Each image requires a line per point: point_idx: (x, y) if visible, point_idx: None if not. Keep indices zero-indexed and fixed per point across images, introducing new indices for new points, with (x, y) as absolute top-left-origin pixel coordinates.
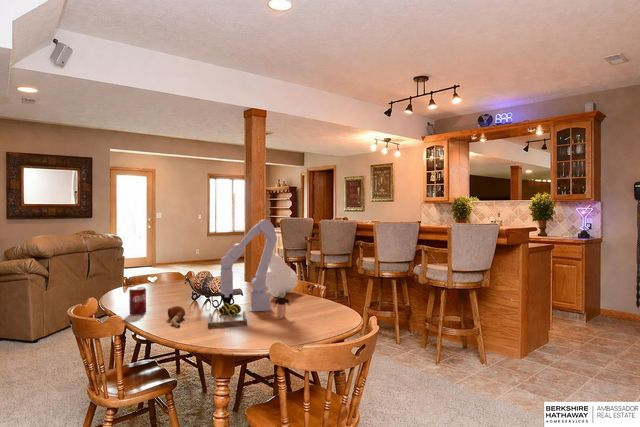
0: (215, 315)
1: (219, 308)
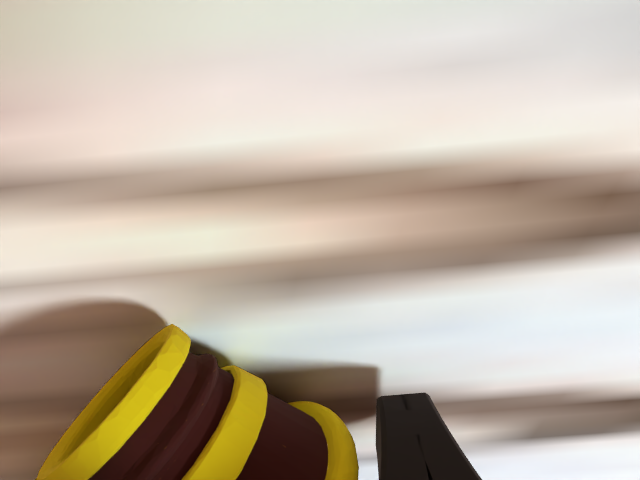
0: (91, 239)
1: (101, 425)
